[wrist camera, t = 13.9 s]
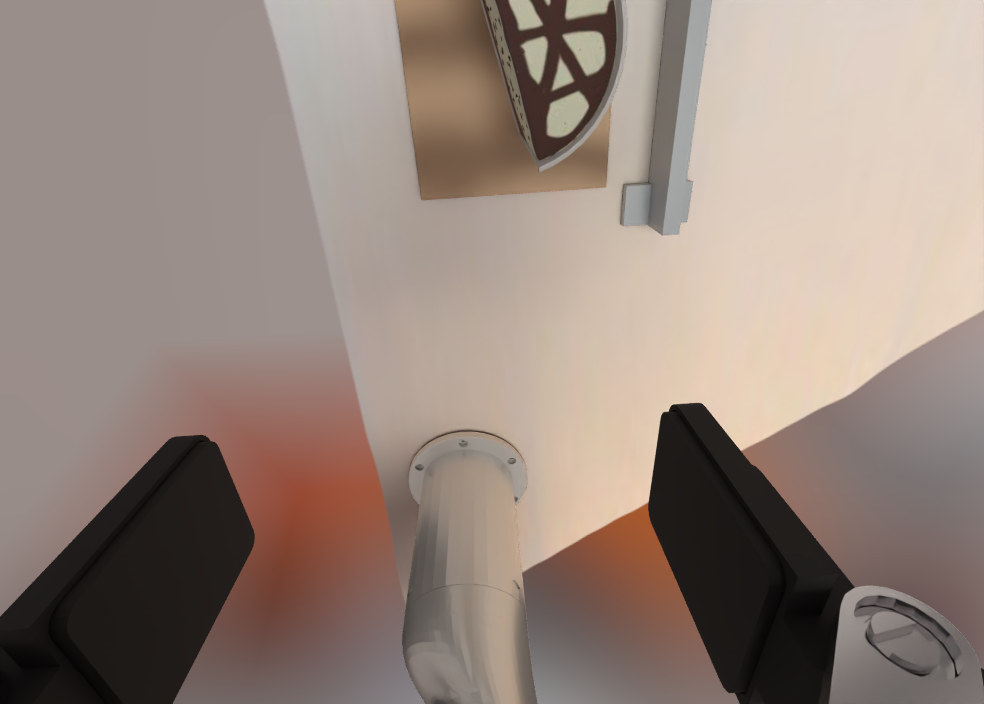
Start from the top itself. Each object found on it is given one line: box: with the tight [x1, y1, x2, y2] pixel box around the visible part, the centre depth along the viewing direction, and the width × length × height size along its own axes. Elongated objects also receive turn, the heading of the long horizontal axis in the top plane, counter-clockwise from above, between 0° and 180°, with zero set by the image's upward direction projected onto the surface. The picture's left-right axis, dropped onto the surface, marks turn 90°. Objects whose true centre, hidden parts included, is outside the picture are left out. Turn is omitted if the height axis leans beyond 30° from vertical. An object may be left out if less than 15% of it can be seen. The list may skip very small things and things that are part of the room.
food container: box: [481, 0, 628, 173], centre depth 25 cm, size 12×6×10 cm, turn 19°
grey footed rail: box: [621, 0, 712, 235], centre depth 29 cm, size 24×5×4 cm, turn 3°
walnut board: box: [395, 0, 611, 200], centre depth 30 cm, size 18×14×1 cm
